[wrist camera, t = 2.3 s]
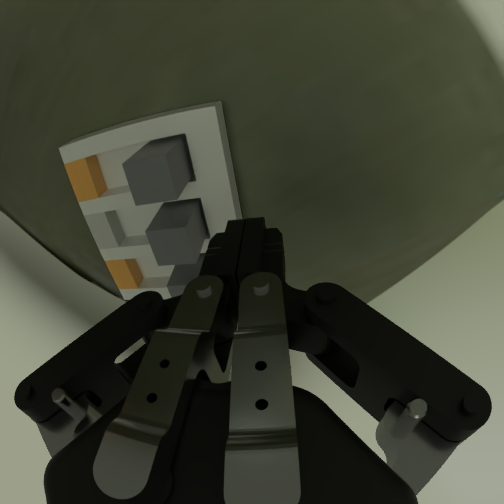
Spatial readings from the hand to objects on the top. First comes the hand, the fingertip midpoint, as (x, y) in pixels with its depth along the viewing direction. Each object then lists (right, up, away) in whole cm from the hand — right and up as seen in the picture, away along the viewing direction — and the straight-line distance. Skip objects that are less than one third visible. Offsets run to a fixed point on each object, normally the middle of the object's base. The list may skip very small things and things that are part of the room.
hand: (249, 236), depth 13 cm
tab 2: (-6, +3, +16) cm, 18 cm away
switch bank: (-9, +4, +18) cm, 20 cm away
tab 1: (-7, +8, +13) cm, 17 cm away
